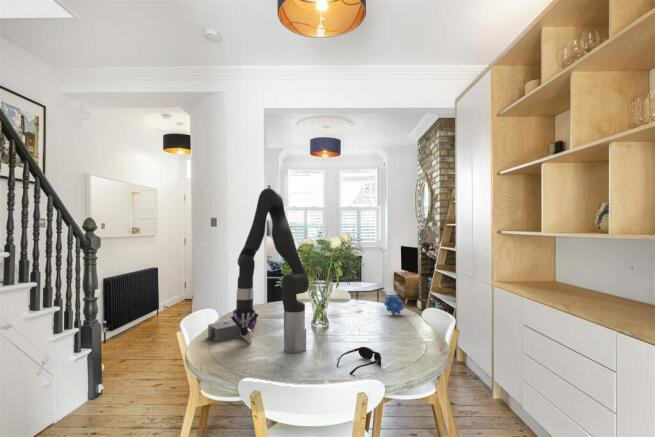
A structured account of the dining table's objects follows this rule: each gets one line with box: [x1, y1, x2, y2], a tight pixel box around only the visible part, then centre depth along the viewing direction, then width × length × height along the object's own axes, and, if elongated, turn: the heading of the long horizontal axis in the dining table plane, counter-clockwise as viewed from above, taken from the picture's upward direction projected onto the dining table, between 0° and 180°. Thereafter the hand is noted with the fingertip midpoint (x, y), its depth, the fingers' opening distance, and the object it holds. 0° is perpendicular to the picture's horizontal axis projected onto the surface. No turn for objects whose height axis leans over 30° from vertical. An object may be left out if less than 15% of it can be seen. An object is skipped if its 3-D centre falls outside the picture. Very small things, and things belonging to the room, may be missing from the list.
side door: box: [240, 328, 254, 344], centre depth 165 cm, size 2×12×5 cm, turn 33°
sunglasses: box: [336, 346, 382, 375], centre depth 135 cm, size 14×16×5 cm
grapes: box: [383, 294, 404, 315], centre depth 209 cm, size 12×7×12 cm, turn 89°
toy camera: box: [232, 308, 257, 331], centre depth 184 cm, size 11×14×10 cm
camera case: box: [207, 319, 241, 343], centre depth 169 cm, size 10×13×7 cm
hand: (243, 335), depth 160 cm, fingers closed
